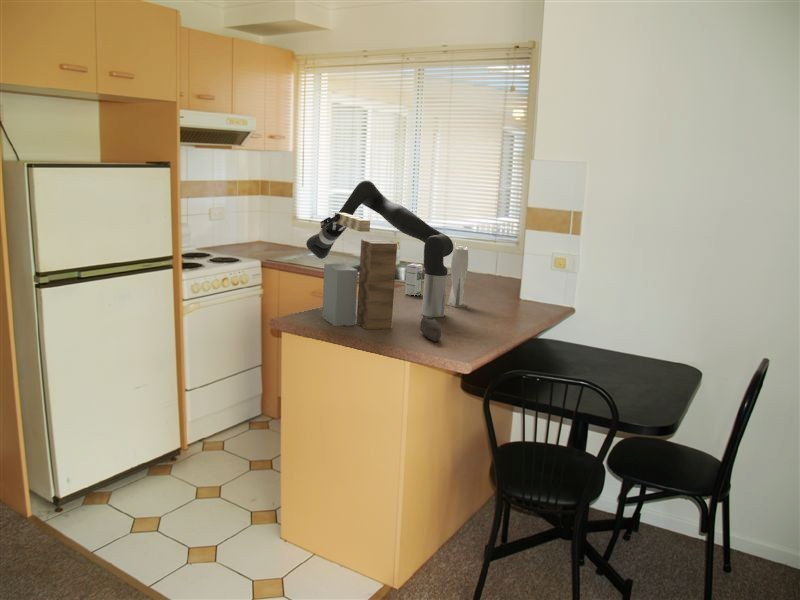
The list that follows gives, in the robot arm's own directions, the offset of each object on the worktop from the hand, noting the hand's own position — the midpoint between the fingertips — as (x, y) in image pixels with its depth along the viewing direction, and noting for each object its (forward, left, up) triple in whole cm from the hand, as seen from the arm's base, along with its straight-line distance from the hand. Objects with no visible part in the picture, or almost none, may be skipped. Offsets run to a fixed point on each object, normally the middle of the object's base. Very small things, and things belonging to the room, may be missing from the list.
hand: (344, 215), depth 261 cm
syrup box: (-27, -52, -40) cm, 71 cm away
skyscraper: (-47, -36, -40) cm, 71 cm away
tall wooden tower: (-15, +14, -39) cm, 45 cm away
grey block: (-1, +12, -39) cm, 41 cm away
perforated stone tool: (-37, +26, -40) cm, 61 cm away
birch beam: (-4, +7, -3) cm, 8 cm away
